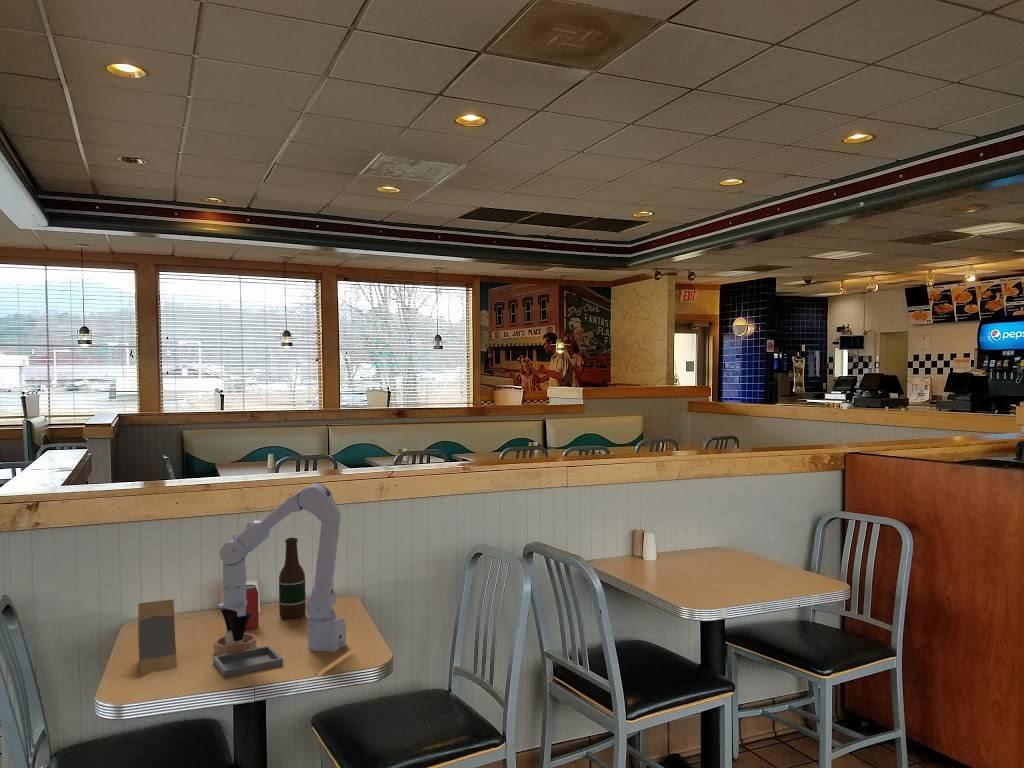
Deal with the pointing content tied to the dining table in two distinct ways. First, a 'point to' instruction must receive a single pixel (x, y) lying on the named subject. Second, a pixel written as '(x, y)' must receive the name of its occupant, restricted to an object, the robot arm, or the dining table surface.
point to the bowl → (222, 649)
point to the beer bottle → (292, 584)
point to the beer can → (252, 607)
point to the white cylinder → (231, 639)
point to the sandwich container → (156, 636)
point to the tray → (247, 661)
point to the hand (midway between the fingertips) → (235, 637)
